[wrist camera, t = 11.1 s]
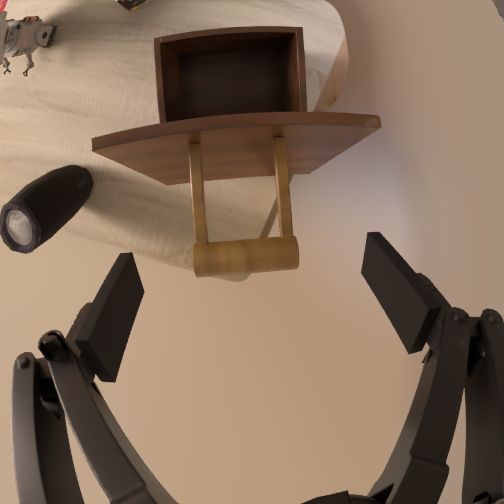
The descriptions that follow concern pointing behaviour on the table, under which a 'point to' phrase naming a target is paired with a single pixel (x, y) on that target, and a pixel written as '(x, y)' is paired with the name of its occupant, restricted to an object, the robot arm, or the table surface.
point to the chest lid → (238, 170)
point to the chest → (230, 72)
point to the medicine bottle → (130, 3)
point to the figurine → (23, 38)
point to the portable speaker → (44, 207)
